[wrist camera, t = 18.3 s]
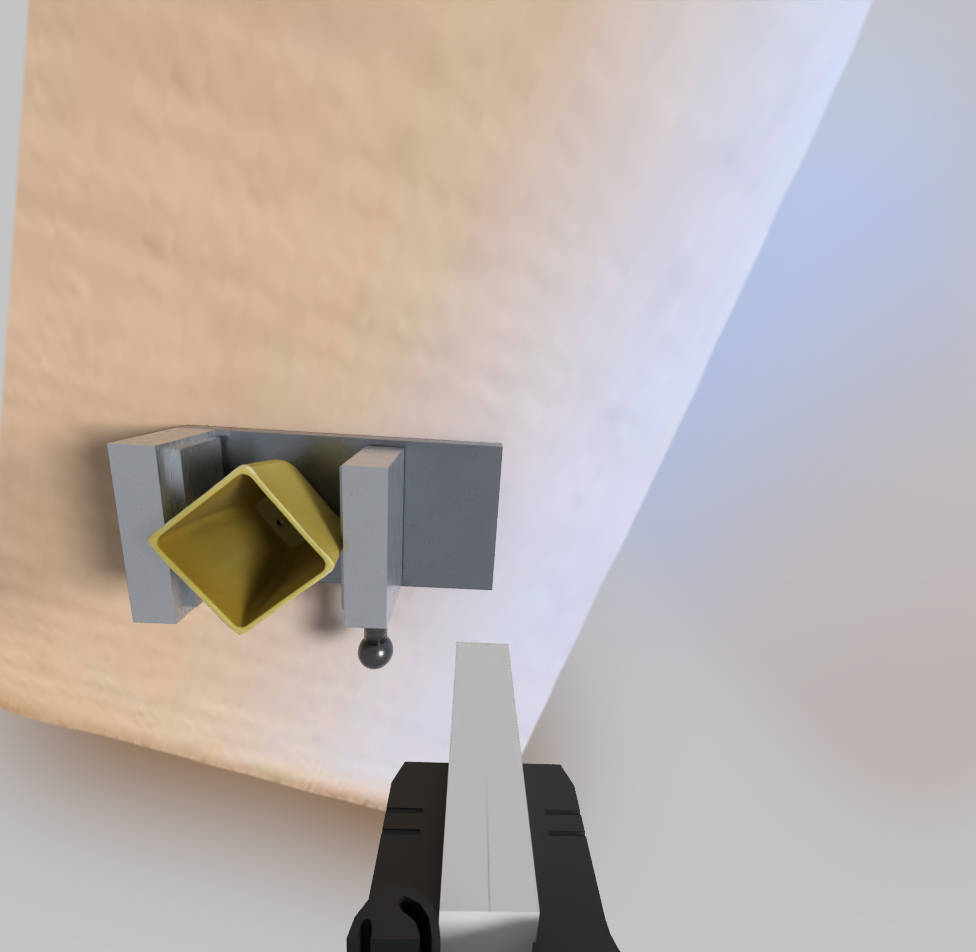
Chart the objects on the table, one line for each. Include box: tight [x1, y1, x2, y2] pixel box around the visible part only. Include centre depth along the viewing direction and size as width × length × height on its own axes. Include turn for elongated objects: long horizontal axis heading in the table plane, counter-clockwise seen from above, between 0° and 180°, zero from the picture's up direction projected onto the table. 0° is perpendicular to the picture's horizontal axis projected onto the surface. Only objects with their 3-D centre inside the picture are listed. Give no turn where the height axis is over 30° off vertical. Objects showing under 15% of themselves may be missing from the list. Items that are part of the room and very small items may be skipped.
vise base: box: [107, 425, 503, 624], centre depth 35 cm, size 13×26×8 cm, turn 86°
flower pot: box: [147, 459, 342, 635], centre depth 33 cm, size 9×9×9 cm
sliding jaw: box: [340, 446, 404, 669], centre depth 35 cm, size 18×4×7 cm, turn 176°
